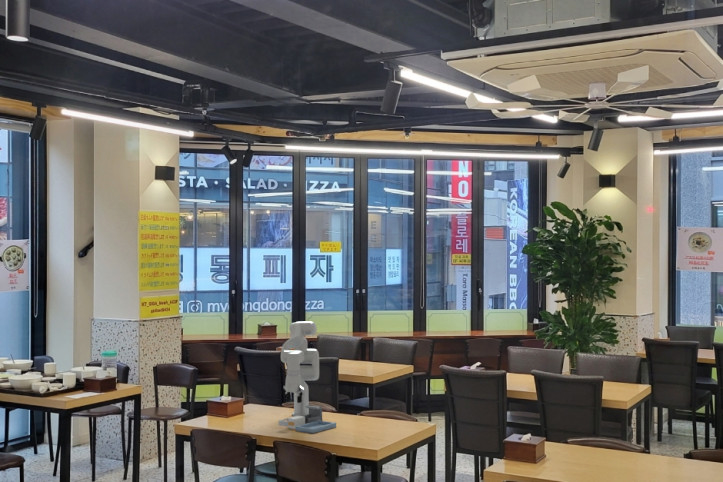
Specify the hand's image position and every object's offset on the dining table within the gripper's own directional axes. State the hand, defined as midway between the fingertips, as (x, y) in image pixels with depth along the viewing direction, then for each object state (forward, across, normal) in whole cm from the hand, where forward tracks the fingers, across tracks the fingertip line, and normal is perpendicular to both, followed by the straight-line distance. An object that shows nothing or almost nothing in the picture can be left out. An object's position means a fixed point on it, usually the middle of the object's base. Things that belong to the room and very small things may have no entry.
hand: (293, 401), depth 482 cm
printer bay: (+16, -1, +14) cm, 21 cm away
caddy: (+16, 0, -2) cm, 16 cm away
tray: (+16, +13, +6) cm, 21 cm away
